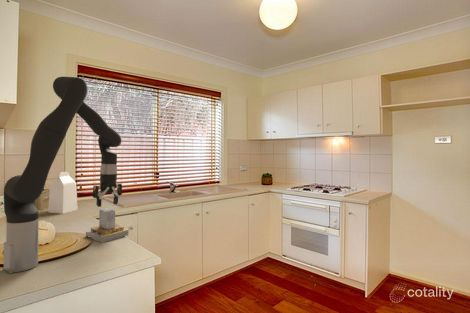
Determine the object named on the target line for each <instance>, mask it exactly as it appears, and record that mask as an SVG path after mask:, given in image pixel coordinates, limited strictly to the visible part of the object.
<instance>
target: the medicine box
mask: <svg viewBox="0 0 470 313" xmlns="http://www.w3.org/2000/svg"><path fill="white" fill-rule="evenodd" d="M98 214H99V217H98V218H99V220H98V221H99V222H98V223H99V224H98V226H100V227H102V228H104V229H112V228H115V224H116V210H113V209H110V208H102V209H99V212H98Z"/></svg>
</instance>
